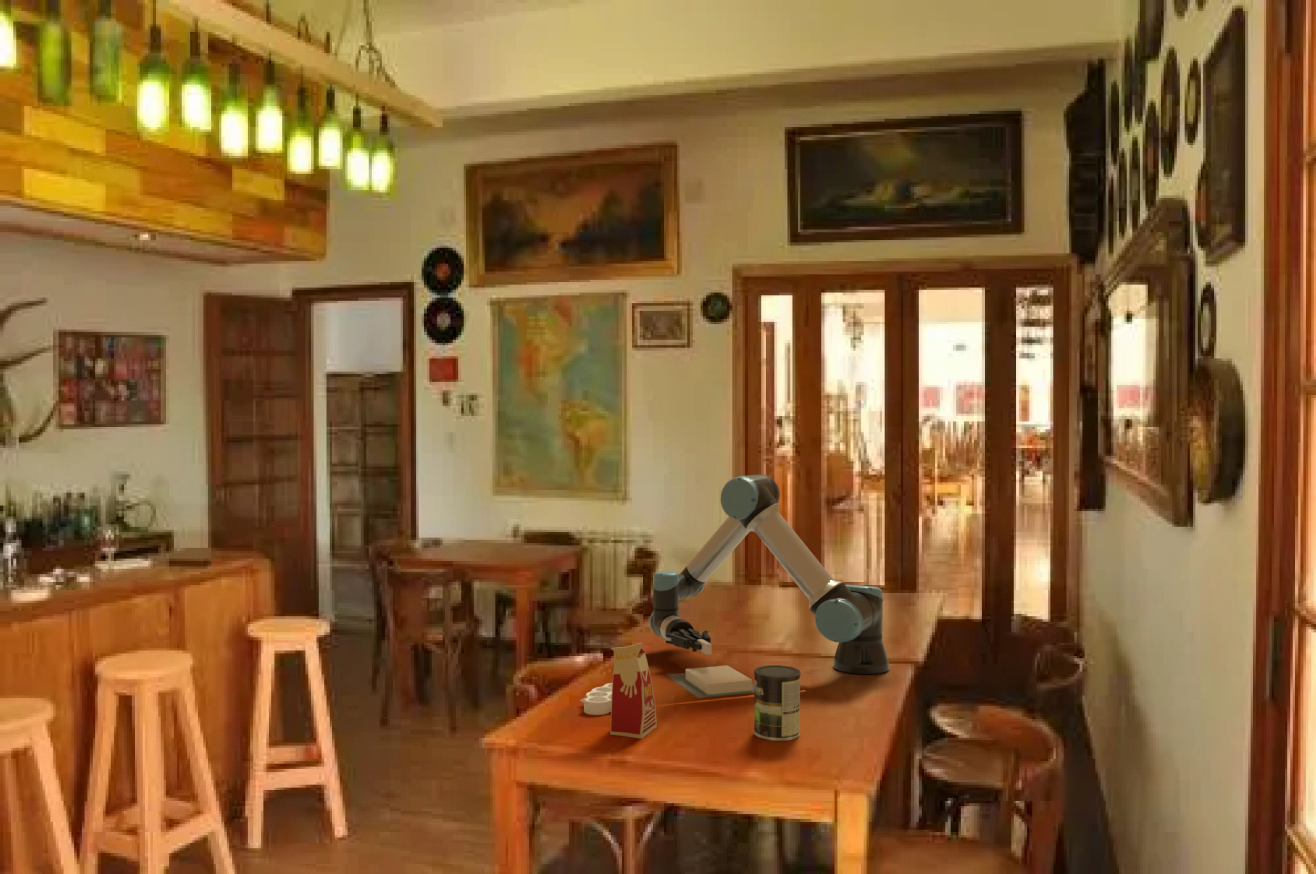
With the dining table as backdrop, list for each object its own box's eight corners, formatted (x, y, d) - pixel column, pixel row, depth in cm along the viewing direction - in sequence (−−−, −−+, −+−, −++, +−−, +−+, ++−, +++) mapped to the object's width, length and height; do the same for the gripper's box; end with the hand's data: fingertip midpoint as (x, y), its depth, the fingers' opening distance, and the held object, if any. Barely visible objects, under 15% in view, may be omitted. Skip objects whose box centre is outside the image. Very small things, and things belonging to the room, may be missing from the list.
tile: (685, 669, 270) (708, 684, 255) (727, 665, 274) (752, 680, 259) (685, 680, 270) (708, 696, 255) (727, 676, 274) (752, 691, 259)
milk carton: (657, 726, 232) (656, 639, 231) (643, 739, 223) (643, 648, 223) (619, 722, 235) (619, 636, 234) (604, 734, 226) (604, 644, 226)
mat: (665, 676, 276) (665, 674, 276) (727, 671, 282) (727, 669, 282) (698, 700, 253) (698, 698, 253) (764, 693, 259) (764, 691, 259)
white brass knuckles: (628, 720, 239) (570, 714, 243) (651, 699, 256) (597, 694, 260) (628, 705, 238) (570, 700, 243) (651, 685, 256) (597, 681, 260)
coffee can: (758, 742, 221) (758, 677, 221) (750, 727, 231) (750, 665, 231) (805, 740, 222) (805, 676, 222) (794, 726, 232) (795, 664, 232)
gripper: (698, 642, 294) (731, 661, 272) (656, 646, 290) (686, 665, 268) (698, 617, 294) (731, 633, 272) (656, 620, 290) (686, 637, 268)
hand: (709, 649), depth 270 cm, fingers closed
